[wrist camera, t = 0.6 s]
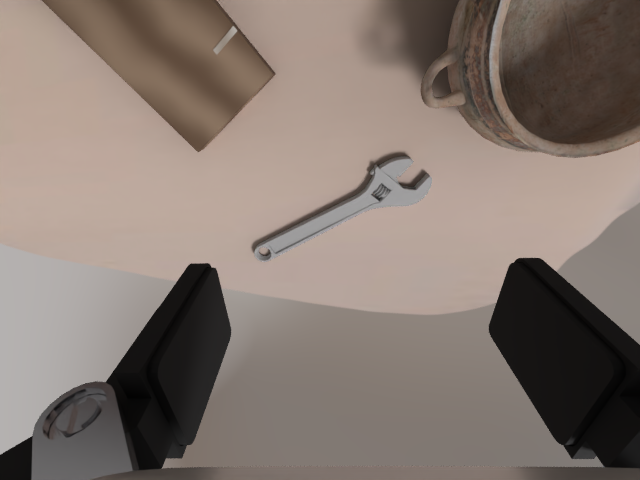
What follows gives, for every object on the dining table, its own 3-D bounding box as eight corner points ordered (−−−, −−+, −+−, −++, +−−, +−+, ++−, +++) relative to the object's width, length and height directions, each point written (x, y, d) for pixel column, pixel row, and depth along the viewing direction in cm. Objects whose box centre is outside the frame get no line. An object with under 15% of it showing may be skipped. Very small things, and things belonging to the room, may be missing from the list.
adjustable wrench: (263, 259, 44) (260, 266, 43) (239, 223, 42) (235, 229, 40) (430, 191, 39) (435, 196, 37) (416, 144, 36) (420, 148, 34)
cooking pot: (418, 170, 37) (456, 210, 26) (375, -14, 28) (406, -66, 18) (650, 87, 32) (811, 96, 22) (682, -164, 24) (977, -356, 13)
